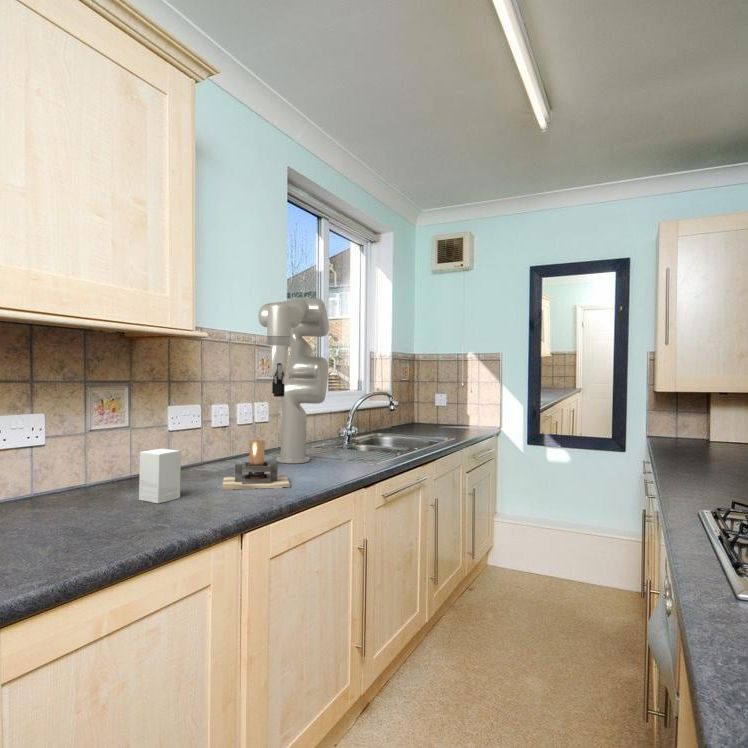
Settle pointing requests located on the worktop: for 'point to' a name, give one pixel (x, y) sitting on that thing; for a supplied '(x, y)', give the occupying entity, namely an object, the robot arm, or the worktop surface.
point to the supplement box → (159, 475)
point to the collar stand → (245, 483)
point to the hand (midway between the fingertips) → (278, 395)
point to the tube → (256, 457)
